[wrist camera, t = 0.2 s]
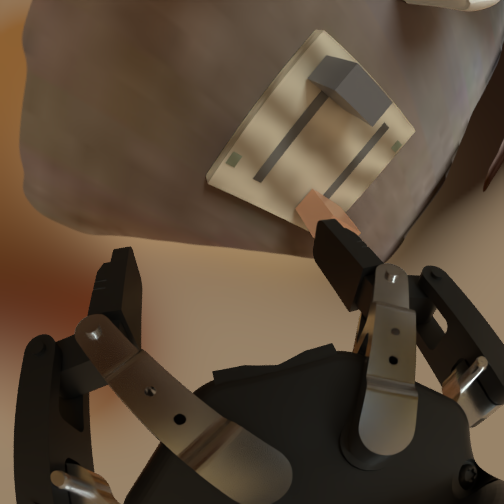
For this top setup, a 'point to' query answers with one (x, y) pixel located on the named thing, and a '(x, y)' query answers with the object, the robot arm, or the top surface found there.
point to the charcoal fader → (351, 88)
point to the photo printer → (456, 4)
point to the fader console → (306, 142)
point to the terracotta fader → (322, 212)
